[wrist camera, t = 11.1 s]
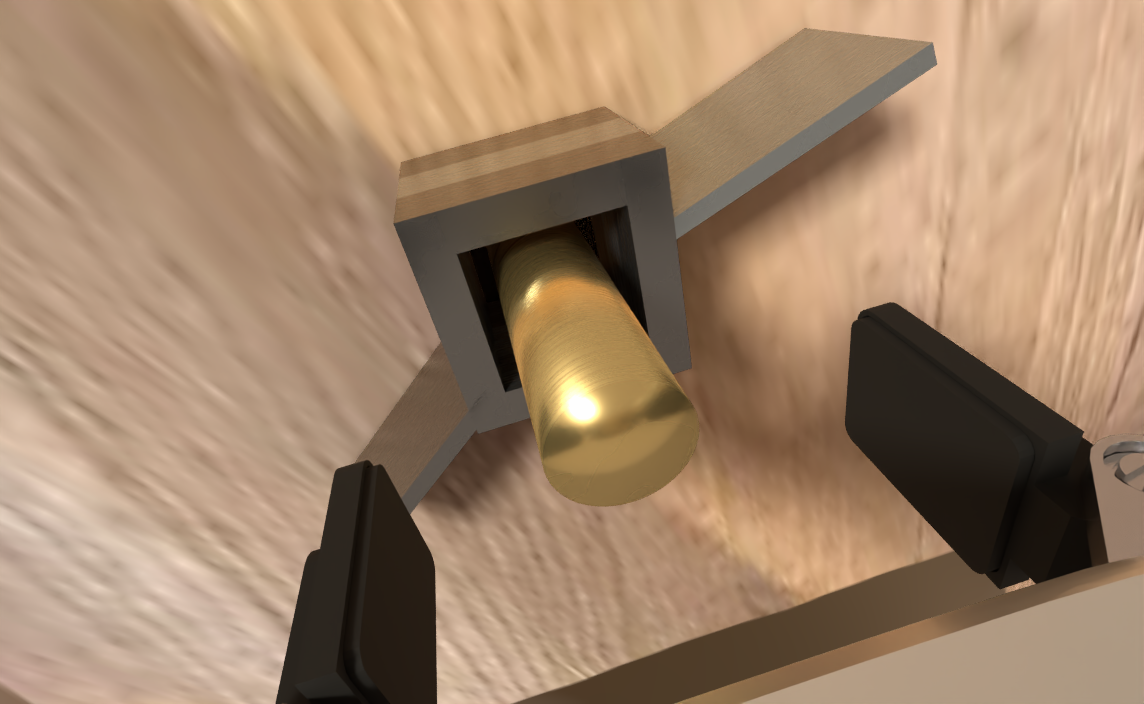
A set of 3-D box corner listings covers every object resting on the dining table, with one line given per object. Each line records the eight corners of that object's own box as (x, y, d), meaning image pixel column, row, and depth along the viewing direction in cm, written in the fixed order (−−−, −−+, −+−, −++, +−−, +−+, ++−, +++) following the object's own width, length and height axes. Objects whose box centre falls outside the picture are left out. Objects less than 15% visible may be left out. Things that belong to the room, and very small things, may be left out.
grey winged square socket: (810, 26, 20) (940, 40, 15) (805, 344, 27) (891, 425, 22) (173, 199, 19) (82, 278, 14) (348, 485, 26) (330, 605, 21)
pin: (560, 177, 21) (691, 359, 11) (578, 259, 23) (705, 478, 13) (472, 202, 21) (523, 410, 11) (498, 282, 22) (561, 524, 12)
